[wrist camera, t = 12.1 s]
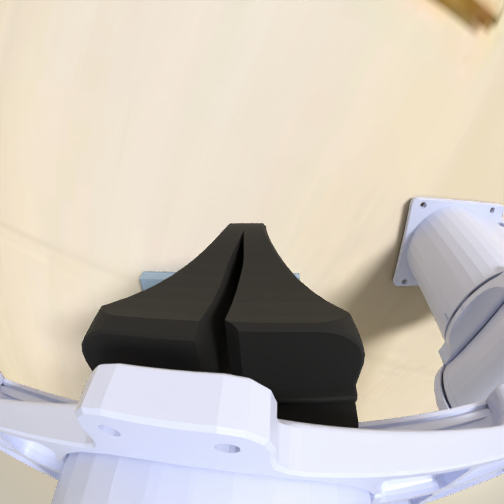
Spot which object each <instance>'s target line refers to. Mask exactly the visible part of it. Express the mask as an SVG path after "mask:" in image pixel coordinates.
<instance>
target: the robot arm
mask: <svg viewBox="0 0 504 504" xmlns="http://www.w3.org/2000/svg"><path fill="white" fill-rule="evenodd" d="M422 202H424V205H423V206H420V205H421V203H422ZM491 208H492V210H491V211H490V209H491ZM503 213H504V207H503V206H502V205H501V204H496V203H487V202H477V201H466V200H454V199H442V198H428V197H414V198H412V200H411V202H410V206H409V211H408V216H407V221H406V226H405V231H404V235H403V240H402V244H401V249H400V253H399V257H398V261H397V265H396V269H395V273H394V277H393V283H394V285H395V286H419V288H420V290H421V292H422V294H423V296H424V298H425V300H426V302H427V304H428V306H429V308H430V310H431V312H432V314H433V316H434V318H435V321H436V323H437V325H438V327H439V329H440V331H441V334H442V336H443V338H444V340H445V343H444V345H443V346H442V347H441V349H440V350H439V354H440V356H441V359H442V361H443V364H444V365H443V366H442V367H441V368H440V369H439V371H438V372H437V374H436V377H435V382H434V391H435V397H436V403H437V406H438V409H439V411H435V412H430V413H424V414H419V415H413V416H406V417H400V418H392V419H385V420H376V421H367V422H358V417H357V411H356V404H355V401H356V400H357V390H356V383H357V380H358V378H359V375H360V372H361V369H362V366H363V364H364V357H365V353H364V347H363V344H362V340H361V338H360V335H359V333H358V330H357V328H356V326H355V323H354V321H353V319H352V317H351V315H350V314H349V313H348V312H346V311H344V310H343V309H341V308H339V307H337V306H335V305H333V304H331V303H329V302H327V301H326V300H324V299H323V298H321V297H320V296H318V295H317V294H315V293H314V292H313V291H311V290H310V289H309V288H308V287H307V286H305V285H304V284H303V283H302V282H301V281H300V280H299V279H298V278H297V277H296V276H295V275H294V274H293V273H292V272H291V271H290V269H289V268H288V267H287V266H286V264H285V263H284V262H283V260H282V259H281V258H280V256H279V255H278V253H277V251H276V250H275V248H274V246H273V244H272V243H271V241H270V238H269V236H268V234H267V231H266V226H265V225H264V224H263V223H235V224H229V225H228V226H227V227H226V228H225V229H224V230H223V231H222V232H221V234H220V235H219V236H218V237H217V238H216V239H215V240H214V241H213V242H212V243H211V244H210V245H209V246H208V247H207V248H206V249H205V250H204V251H203V252H202V253H201V254H200V255H198V256H197V257H196V258H195V259H194V260H193V261H191V262H190V263H189V264H188V265H186V266H185V267H184V268H182V269H181V270H179V271H178V272H176V273H175V274H173V275H172V276H170V277H168V278H166V279H165V280H163V281H161V282H160V283H158V284H156V285H154V286H152V287H150V288H148V289H146V290H144V291H142V292H139V293H137V294H135V295H133V296H130V297H127V298H125V299H122V300H119V301H116V302H113V303H110V304H107V305H104V306H102V307H101V308H100V310H99V312H98V313H97V315H96V317H95V318H94V320H93V322H92V324H91V326H90V328H89V330H88V331H87V333H86V335H85V337H84V340H83V342H82V352H83V355H84V357H85V359H86V361H87V363H88V365H89V367H90V368H91V370H92V372H91V374H90V377H89V379H88V381H87V383H86V386H85V388H84V390H83V393H82V395H81V397H80V400H79V401H76V400H72V399H68V398H65V397H61V396H57V395H54V394H50V393H47V392H44V391H40V390H37V389H34V388H31V387H28V386H25V385H22V384H19V383H16V382H13V381H11V380H8V379H5V378H4V376H3V374H2V373H1V372H0V450H1V451H3V452H5V453H6V454H8V455H10V456H12V457H14V458H15V459H17V460H19V461H21V462H23V463H25V464H26V465H28V466H30V467H33V468H34V469H36V470H38V471H40V472H42V473H44V474H46V475H48V476H50V477H53V478H55V479H57V480H58V483H57V486H56V490H55V493H54V496H53V499H52V503H51V504H424V503H427V502H430V501H433V500H436V499H439V498H442V497H445V496H448V495H451V494H454V493H456V492H459V491H462V490H464V489H467V488H469V487H472V486H474V485H477V484H480V483H482V482H484V481H487V480H489V479H492V478H494V477H496V476H499V475H501V474H503V473H504V219H503V218H502V216H503ZM404 279H406V280H405V281H403V280H404Z"/></svg>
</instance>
